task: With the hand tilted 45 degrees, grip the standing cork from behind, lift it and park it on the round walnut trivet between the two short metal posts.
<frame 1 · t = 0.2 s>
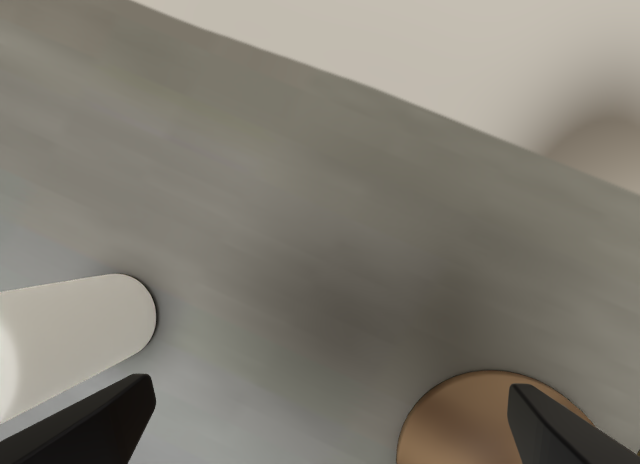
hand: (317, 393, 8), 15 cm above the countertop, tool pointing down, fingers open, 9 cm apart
can: (123, 313, 26), on the countertop
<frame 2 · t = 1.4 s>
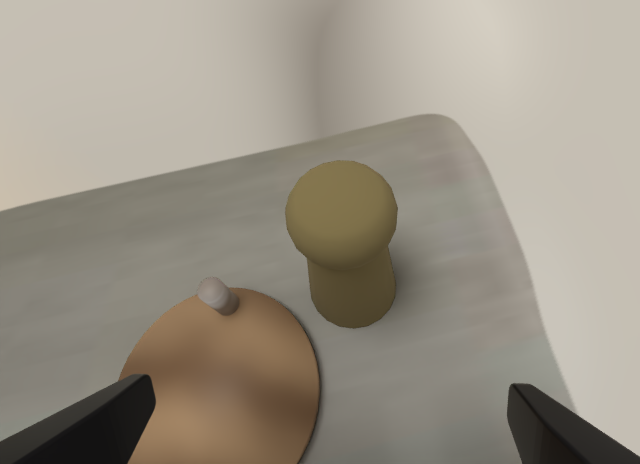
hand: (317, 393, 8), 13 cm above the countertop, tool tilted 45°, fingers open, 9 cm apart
cork: (352, 286, 24), on the countertop
trivet: (218, 390, 21), on the countertop
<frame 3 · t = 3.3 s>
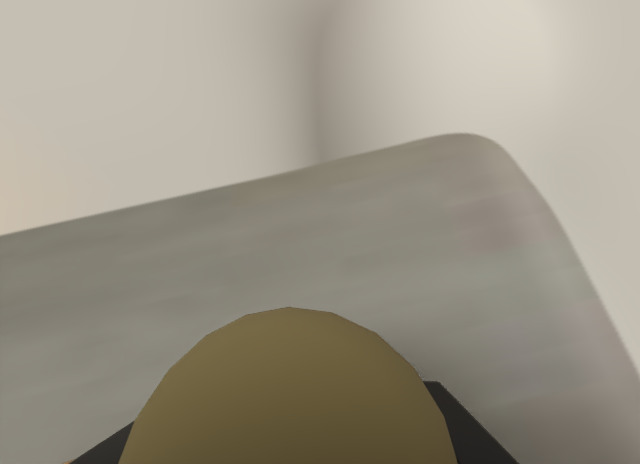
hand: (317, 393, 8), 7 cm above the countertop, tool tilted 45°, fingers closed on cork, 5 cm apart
cork: (340, 447, 13), on the countertop, touching gripper
when the fingers open (9 cm above the countertop, at t = 6.3 s): cork stays where it is, resting on trivet.
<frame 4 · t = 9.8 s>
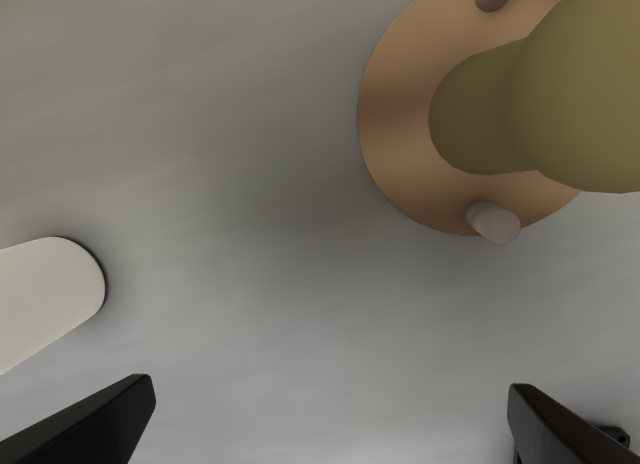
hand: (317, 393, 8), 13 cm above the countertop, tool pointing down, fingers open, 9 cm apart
cork: (488, 115, 17), point 1 cm above the countertop, touching trivet
can: (70, 277, 24), on the countertop
trivet: (479, 113, 18), on the countertop
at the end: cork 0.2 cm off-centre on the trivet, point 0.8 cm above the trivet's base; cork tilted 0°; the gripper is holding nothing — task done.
